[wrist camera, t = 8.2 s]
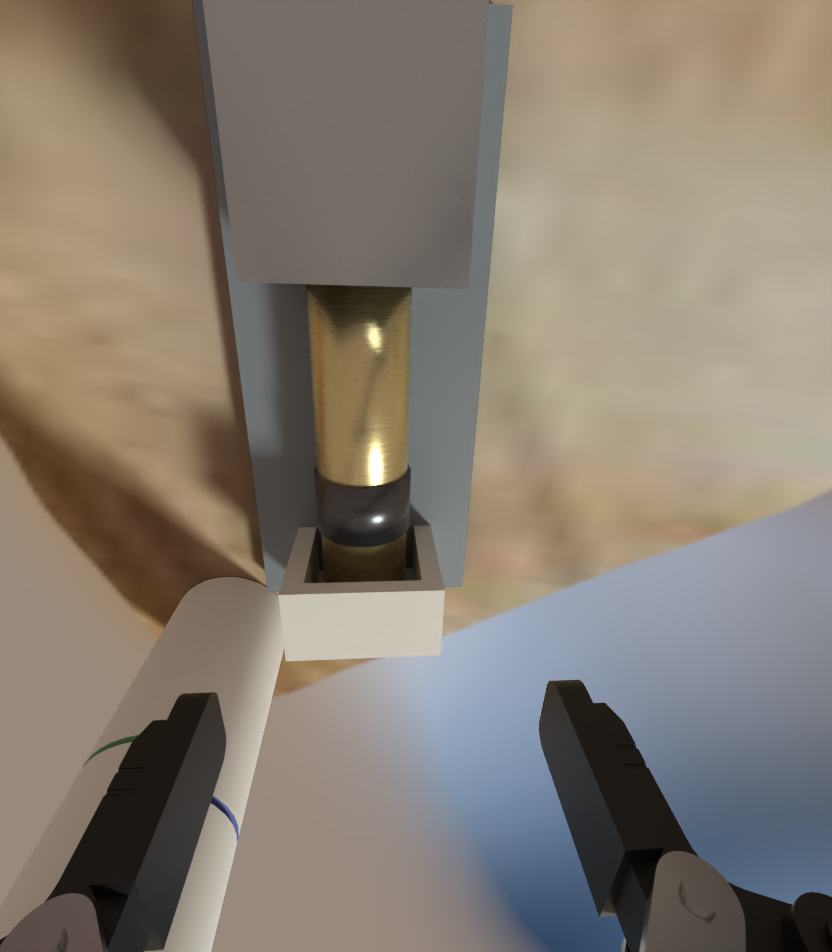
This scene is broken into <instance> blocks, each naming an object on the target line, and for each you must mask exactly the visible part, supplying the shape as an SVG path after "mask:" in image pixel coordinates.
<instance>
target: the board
mask: <svg viewBox="0 0 832 952" xmlns="http://www.w3.org/2000/svg"><path fill="white" fill-rule="evenodd" d="M192 4H193V12H194V19H195V27H196V35H197V43H198V51H199V59H200V66H201V74H202V82H203V90H204V98H205V105H206V113H207V121H208V129H209V137H210V145H211V152H212V160H213V168H214V176H215V184H216V191H217V199H218V207H219V215H220V223H221V231H222V238H223V246H224V254H225V262H226V270H227V277H228V285H229V293H230V301H231V309H232V317H233V324H234V332H235V340H236V348H237V356H238V363H239V371H240V379H241V387H242V395H243V403H244V410H245V418H246V426H247V434H248V442H249V450H250V457H251V465H252V473H253V481H254V489H255V496H256V504H257V512H258V520H259V528H260V536H261V543H262V551H263V559H264V567H265V575H266V582H267V590H268V592H279V591H280V588H281V584H282V581H283V578H284V575H285V571H286V568H287V565H288V561H289V558H290V555H291V552H292V548H293V545H294V542H295V539H296V535H297V532H298V529H299V527H317V540H318V554H319V569H320V570H324V567H323V551H322V536H321V533H320V532H319V530H318V521H317V506H316V491H315V476H314V470H315V468H316V466H317V458H316V442H315V427H314V411H313V396H312V380H311V365H310V349H309V333H308V318H307V302H306V287H305V284H282V283H249V282H237V281H236V273H235V264H234V256H233V248H232V239H231V231H230V223H229V215H228V206H227V198H226V190H225V182H224V173H223V165H222V157H221V148H220V140H219V132H218V124H217V115H216V107H215V99H214V91H213V82H212V74H211V66H210V57H209V49H208V41H207V33H206V24H205V16H204V8H203V0H192ZM512 8H513V5H501V4H490V3H489V9H488V23H487V37H486V51H485V65H484V79H483V94H482V108H481V122H480V136H479V150H478V164H477V178H476V192H475V207H474V221H473V235H472V249H471V263H470V277H469V289H448V288H415V287H412V316H411V358H410V400H409V441H408V465H409V466H410V468H411V484H410V521H409V528H408V530H407V531H406V566H405V568H412V564H413V532H414V526H424V525H431V529H432V534H433V538H434V543H435V548H436V552H437V557H438V561H439V566H440V570H441V575H442V580H443V584H444V587H462V583H463V572H464V560H465V549H466V537H467V526H468V514H469V503H470V491H471V480H472V468H473V457H474V445H475V434H476V422H477V411H478V399H479V388H480V376H481V365H482V353H483V342H484V330H485V319H486V307H487V296H488V284H489V273H490V261H491V250H492V238H493V227H494V215H495V204H496V192H497V181H498V169H499V158H500V146H501V135H502V123H503V112H504V100H505V89H506V77H507V66H508V54H509V43H510V31H511V20H512Z"/></svg>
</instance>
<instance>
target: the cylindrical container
mask: <svg viewBox="0 0 832 952" xmlns="http://www.w3.org/2000/svg"><path fill="white" fill-rule="evenodd" d="M283 649H284V640H283V632H282V623H281V615H280V606H279V597H278V596H277V595H276V594H275V593H273V592H268V590H267V587H265V586H263V585H261V584H259V583H257V582H254V581H251V580H248V579H244V578H239V577H220V578H214V579H210V580H206V581H204V582H202V583H200V584H198V585H196V586H194V587H193V588H192V589H190V590H189V591H188V592H187V593H186V594H185V596H184V597H183V598H182V600H181V601H180V603H179V605H178V606H177V608H176V610H175V611H174V613H173V615H172V616H171V618H170V620H169V622H168V623H167V625H166V627H165V628H164V630H163V632H162V633H161V635H160V637H159V638H158V640H157V642H156V644H155V645H154V647H153V649H152V650H151V652H150V654H149V656H148V657H147V659H146V660H145V662H144V664H143V666H142V667H141V669H140V671H139V672H138V674H137V676H136V678H135V679H134V681H133V683H132V684H131V686H130V688H129V689H128V691H127V693H126V694H125V696H124V698H123V700H122V701H121V703H120V704H119V706H118V708H117V710H116V711H115V713H114V715H113V716H112V718H111V720H110V721H109V723H108V725H107V726H106V728H105V730H104V732H103V733H102V735H101V737H100V739H99V740H98V742H97V743H96V745H95V747H94V748H93V750H92V752H91V754H90V755H89V757H88V759H87V761H86V762H85V764H84V766H83V768H82V770H81V771H80V772H79V774H78V776H77V777H76V779H75V781H74V782H73V784H72V786H71V787H70V789H69V791H68V793H67V794H66V796H65V798H64V800H63V801H62V803H61V804H60V806H59V808H58V809H57V811H56V813H55V814H54V816H53V818H52V820H51V821H50V823H49V825H48V826H47V828H46V830H45V831H44V833H43V835H42V837H41V838H40V840H39V841H38V843H37V845H36V847H35V848H34V850H33V852H32V854H31V855H30V857H29V858H28V860H27V862H26V863H25V865H24V867H23V869H22V870H21V872H20V874H19V875H18V877H17V879H16V880H15V882H14V884H13V886H12V888H11V889H10V891H9V892H8V894H7V896H6V897H5V899H4V901H3V902H2V904H1V906H0V939H2V938H4V937H5V936H7V935H8V934H9V933H10V932H11V931H12V929H13V928H14V927H15V926H16V925H17V924H18V923H19V922H20V921H21V920H22V919H23V918H24V917H25V916H26V915H28V914H29V913H30V912H31V911H33V910H34V909H35V908H37V907H38V906H39V905H41V904H43V903H44V902H45V901H46V899H47V898H48V897H49V895H50V894H51V893H52V891H53V890H54V888H55V887H56V885H57V883H58V881H59V880H60V878H61V876H62V874H63V872H64V870H65V868H66V866H67V865H68V863H69V861H70V859H71V857H72V855H73V853H74V851H75V849H76V847H77V846H78V844H79V842H80V840H81V838H82V836H83V834H84V832H85V830H86V829H87V827H88V825H89V823H90V821H91V819H92V817H93V815H94V813H95V811H96V810H97V808H98V806H99V804H100V802H101V800H102V798H103V796H104V795H106V793H107V789H108V787H109V785H110V783H111V781H112V779H113V777H114V775H115V773H117V772H118V768H119V766H120V764H121V762H122V760H123V758H124V756H125V754H126V753H127V751H128V749H129V747H130V745H131V743H132V742H133V741H134V740H135V739H136V738H137V737H138V736H139V734H140V733H141V732H142V731H143V730H144V729H145V728H146V727H147V726H148V725H149V724H150V723H151V722H152V721H153V720H167V719H168V716H169V714H170V712H171V710H172V708H173V706H174V704H175V702H176V700H177V698H178V697H179V696H180V695H181V694H183V693H208V692H215V693H217V695H218V699H219V703H220V708H221V713H222V718H223V722H224V727H225V732H226V751H225V757H224V761H223V765H222V768H221V771H220V774H219V778H218V781H217V784H216V787H215V790H214V793H213V796H212V800H211V803H210V806H209V809H208V812H207V815H206V818H205V821H204V825H203V828H202V831H201V834H200V837H199V840H198V843H197V846H196V850H195V853H194V856H193V859H192V862H191V865H190V868H189V872H188V875H187V878H186V881H185V884H184V887H183V890H182V893H181V897H180V900H179V903H178V906H177V909H176V912H175V915H174V919H173V922H172V925H171V928H170V931H169V934H168V937H167V940H166V944H165V947H164V950H155V951H144V952H211V949H212V945H213V941H214V937H215V932H216V928H217V924H218V920H219V915H220V911H221V907H222V903H223V899H224V895H225V890H226V886H227V883H228V878H229V874H230V870H231V866H232V861H233V857H234V853H235V849H236V845H237V840H238V837H239V832H240V828H241V824H242V820H243V816H244V812H245V808H246V803H247V799H248V795H249V791H250V786H251V783H252V778H253V774H254V770H255V766H256V762H257V758H258V753H259V749H260V745H261V741H262V737H263V733H264V728H265V724H266V720H267V716H268V712H269V708H270V703H271V699H272V695H273V691H274V687H275V683H276V678H277V674H278V670H279V666H280V662H281V658H282V653H283Z"/></svg>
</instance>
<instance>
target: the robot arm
mask: <svg viewBox="0 0 832 952" xmlns="http://www.w3.org/2000/svg"><path fill="white" fill-rule="evenodd" d="M539 734H540V741H541V745H542V749H543V752H544V755H545V758H546V761H547V764H548V767H549V770H550V773H551V775H552V779H553V782H554V785H555V788H556V791H557V793H558V797H559V799H560V802H561V805H562V808H563V811H564V814H565V817H566V820H567V823H568V826H569V829H570V832H571V835H572V838H573V841H574V843H575V847H576V850H577V852H578V855H579V858H580V861H581V864H582V867H583V870H584V873H585V876H586V878H587V882H588V885H589V888H590V891H591V894H592V896H593V900H594V903H595V906H596V909H597V911H598V914H599V917H609V916H617V917H618V920H619V922H620V925H621V928H622V930H623V933H624V940H623V944H622V950H621V952H832V897H830V896H828V895H824V894H821V893H814V892H810V893H805V894H803V895H801V896H800V897H799V898H798V899H797V900H796V901H795V903H794V904H793V905H791V904H788V903H785V902H782V901H779V900H776V899H772V898H769V897H766V896H763V895H760V894H757V893H753V892H750V891H747V890H744V889H742V888H739V887H737V886H735V885H733V884H731V883H729V882H727V881H726V880H725V878H724V877H723V876H722V875H721V874H720V873H719V872H718V871H717V870H716V869H715V868H714V867H712V866H711V865H710V864H709V863H707V862H706V861H704V860H703V859H701V858H700V857H699V856H698V855H697V854H696V852H695V851H694V850H693V849H692V847H691V845H690V844H689V842H688V840H687V839H686V837H685V835H684V833H683V831H682V829H681V827H680V826H679V824H678V822H677V820H676V818H675V816H674V814H673V813H672V811H671V809H670V807H669V805H668V803H667V801H666V800H665V798H664V796H663V794H662V792H661V790H660V789H659V787H658V785H657V783H656V781H655V779H654V777H653V776H652V774H651V772H650V770H649V768H647V767H646V763H645V761H644V759H643V757H642V755H641V753H640V751H639V750H638V749H637V748H636V744H635V742H634V741H633V738H632V737H631V735H630V733H629V731H628V729H627V727H626V726H625V724H624V722H623V721H622V720H621V719H620V718H619V717H618V716H617V715H616V714H615V713H614V712H613V711H612V710H611V709H610V708H609V707H608V706H607V705H606V703H593V702H592V700H591V698H590V696H589V694H588V692H587V690H586V687H585V686H584V684H583V683H582V682H581V681H580V680H562V681H549V682H548V684H547V688H546V693H545V698H544V702H543V707H542V712H541V717H540V722H539ZM225 751H226V732H225V727H224V722H223V718H222V713H221V708H220V703H219V699H218V695H217V693H215V692H208V693H183V694H181V695H180V696H179V697H178V698H177V700H176V702H175V704H174V706H173V708H172V710H171V712H170V714H169V716H168V719H167V720H153V721H152V722H151V723H150V724H149V725H148V726H147V727H146V728H145V729H144V730H143V731H142V732H141V733H140V734H139V736H138V737H137V738H136V739H135V740H134V741H133V742H132V743H131V745H130V747H129V749H128V751H127V753H126V754H125V756H124V758H123V760H122V762H121V764H120V766H119V768H118V772H117V773H115V775H114V777H113V779H112V781H111V783H110V785H109V787H108V789H107V793H106V795H104V796H103V798H102V800H101V802H100V804H99V806H98V808H97V810H96V811H95V813H94V815H93V817H92V819H91V821H90V823H89V825H88V827H87V829H86V830H85V832H84V834H83V836H82V838H81V840H80V842H79V844H78V846H77V847H76V849H75V851H74V853H73V855H72V857H71V859H70V861H69V863H68V865H67V866H66V868H65V870H64V872H63V874H62V876H61V878H60V880H59V881H58V883H57V885H56V887H55V888H54V890H53V891H52V893H51V894H50V895H49V897H48V898H47V899H46V901H45V902H44V903H43V904H41V905H39V906H38V907H37V908H35V909H34V910H33V911H31V912H30V913H29V914H28V915H26V916H25V917H24V918H23V919H22V920H21V921H20V922H19V923H18V924H17V925H16V926H15V927H14V928H13V929H12V931H11V932H10V933H9V934H8V935H7V936H5V937H4V938H2V939H0V952H144V951H155V950H164V947H165V944H166V940H167V937H168V934H169V931H170V928H171V925H172V922H173V919H174V915H175V912H176V909H177V906H178V903H179V900H180V897H181V893H182V890H183V887H184V884H185V881H186V878H187V875H188V872H189V868H190V865H191V862H192V859H193V856H194V853H195V850H196V846H197V843H198V840H199V837H200V834H201V831H202V828H203V825H204V821H205V818H206V815H207V812H208V809H209V806H210V803H211V800H212V796H213V793H214V790H215V787H216V784H217V781H218V778H219V774H220V771H221V768H222V765H223V761H224V757H225Z"/></svg>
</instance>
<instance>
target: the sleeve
mask: <svg viewBox="0 0 832 952" xmlns="http://www.w3.org/2000/svg"><path fill="white" fill-rule="evenodd" d="M203 8H204V16H205V24H206V33H207V41H208V49H209V57H210V66H211V74H212V82H213V91H214V99H215V107H216V115H217V124H218V132H219V140H220V148H221V157H222V165H223V173H224V182H225V190H226V198H227V206H228V215H229V223H230V231H231V239H232V248H233V256H234V264H235V273H236V281H237V282H249V283H282V284H316V285H349V286H382V287H415V288H448V289H469V277H470V263H471V249H472V235H473V221H474V207H475V192H476V178H477V164H478V150H479V136H480V122H481V108H482V94H483V79H484V65H485V51H486V37H487V23H488V9H489V0H203Z"/></svg>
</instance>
